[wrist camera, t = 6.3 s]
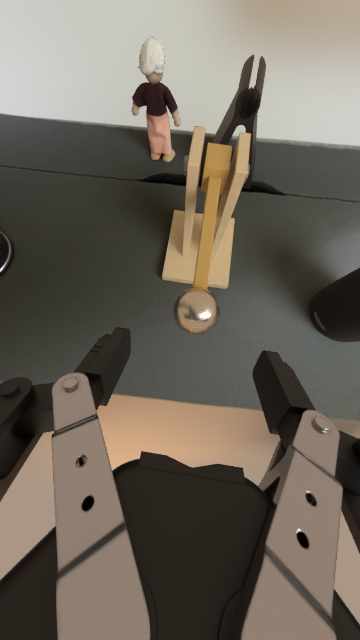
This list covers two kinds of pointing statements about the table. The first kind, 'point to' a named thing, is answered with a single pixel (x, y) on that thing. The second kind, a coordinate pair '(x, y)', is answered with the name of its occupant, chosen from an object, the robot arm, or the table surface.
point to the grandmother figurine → (156, 100)
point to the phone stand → (244, 112)
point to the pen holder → (339, 309)
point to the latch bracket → (189, 223)
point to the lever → (205, 249)
